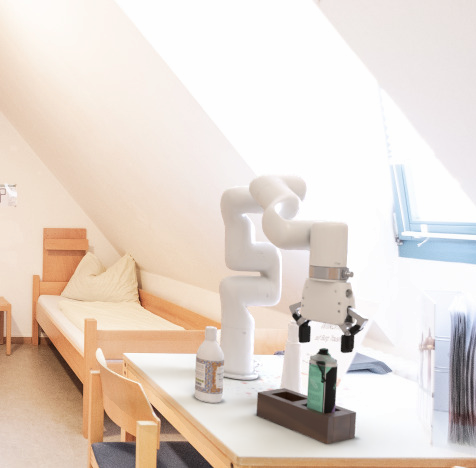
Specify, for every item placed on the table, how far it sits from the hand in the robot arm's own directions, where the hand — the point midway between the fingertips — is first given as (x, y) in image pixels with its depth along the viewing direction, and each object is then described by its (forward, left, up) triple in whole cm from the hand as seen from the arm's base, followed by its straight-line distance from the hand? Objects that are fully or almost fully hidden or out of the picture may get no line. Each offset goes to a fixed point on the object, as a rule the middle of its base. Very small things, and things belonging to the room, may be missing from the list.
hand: (324, 347), depth 124 cm
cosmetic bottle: (-15, -18, -21) cm, 31 cm away
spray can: (0, 0, -21) cm, 21 cm away
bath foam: (+7, -26, -21) cm, 34 cm away
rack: (0, -4, -20) cm, 21 cm away
